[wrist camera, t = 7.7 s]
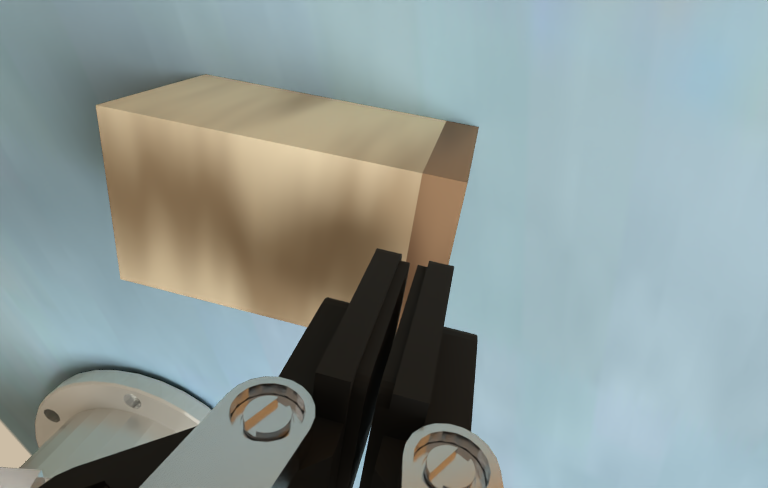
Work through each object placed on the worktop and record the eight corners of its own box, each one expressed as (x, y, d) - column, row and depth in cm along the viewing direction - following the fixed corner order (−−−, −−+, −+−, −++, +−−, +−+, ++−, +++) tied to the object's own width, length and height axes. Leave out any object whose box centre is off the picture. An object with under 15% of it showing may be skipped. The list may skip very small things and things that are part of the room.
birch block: (426, 357, 13) (120, 279, 14) (446, 265, 17) (211, 211, 19) (467, 182, 11) (95, 104, 12) (478, 126, 15) (206, 74, 16)
